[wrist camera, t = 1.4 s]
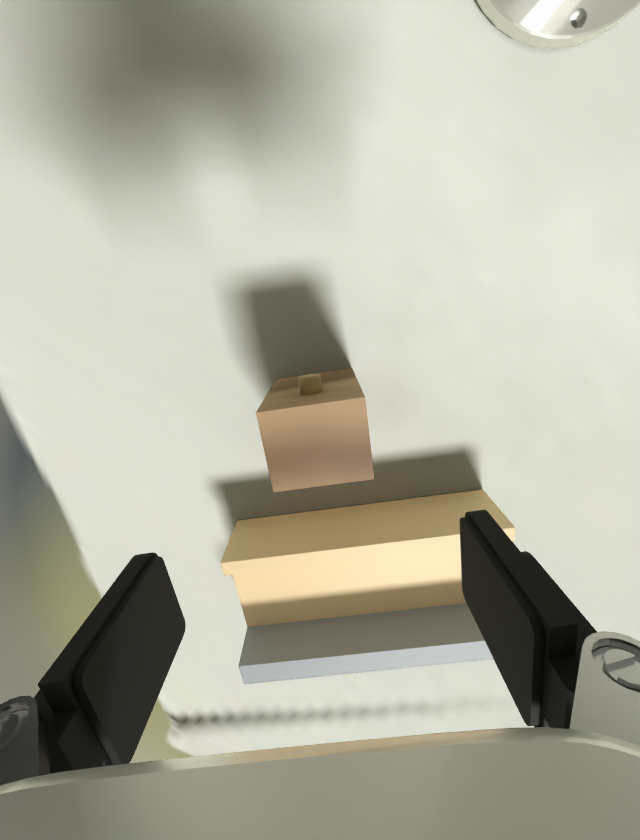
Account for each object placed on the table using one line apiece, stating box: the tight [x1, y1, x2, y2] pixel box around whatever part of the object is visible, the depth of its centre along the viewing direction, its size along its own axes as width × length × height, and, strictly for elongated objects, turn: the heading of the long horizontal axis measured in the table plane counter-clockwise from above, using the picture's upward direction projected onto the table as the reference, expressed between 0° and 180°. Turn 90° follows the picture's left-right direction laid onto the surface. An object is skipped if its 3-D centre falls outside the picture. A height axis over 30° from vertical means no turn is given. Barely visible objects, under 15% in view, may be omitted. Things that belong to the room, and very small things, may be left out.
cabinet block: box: [256, 368, 374, 492], centre depth 24 cm, size 6×6×9 cm
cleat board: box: [221, 489, 515, 684], centre depth 29 cm, size 10×22×8 cm, turn 99°
